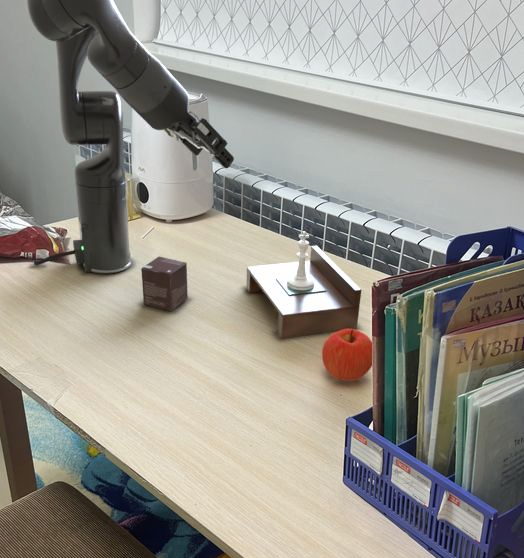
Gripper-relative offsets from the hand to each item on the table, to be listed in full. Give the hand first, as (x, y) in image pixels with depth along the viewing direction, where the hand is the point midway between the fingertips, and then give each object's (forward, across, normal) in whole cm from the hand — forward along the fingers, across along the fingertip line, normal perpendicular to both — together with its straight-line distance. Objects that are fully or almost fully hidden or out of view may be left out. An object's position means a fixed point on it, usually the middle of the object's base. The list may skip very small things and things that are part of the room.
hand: (214, 157), depth 114 cm
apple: (+20, -32, +17) cm, 42 cm away
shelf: (+27, -11, +11) cm, 31 cm away
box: (+14, +4, +24) cm, 28 cm away
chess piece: (+23, -11, +8) cm, 27 cm away
